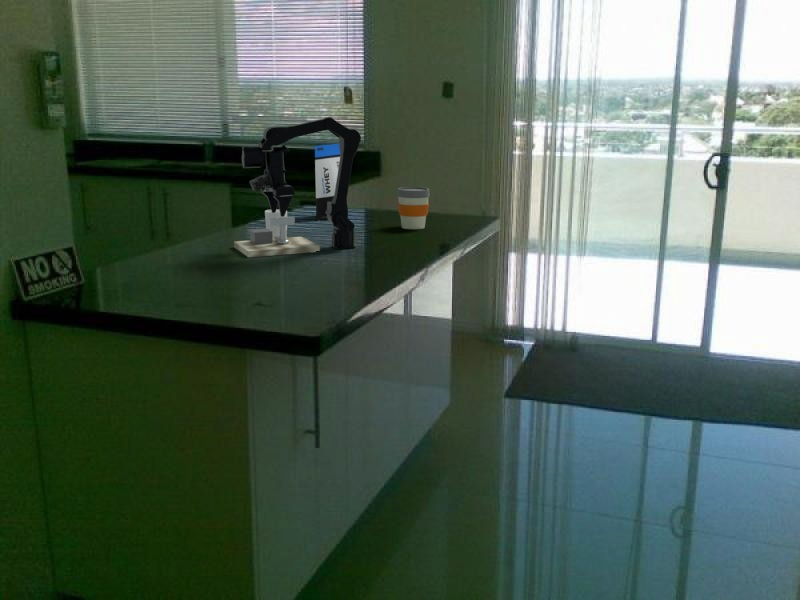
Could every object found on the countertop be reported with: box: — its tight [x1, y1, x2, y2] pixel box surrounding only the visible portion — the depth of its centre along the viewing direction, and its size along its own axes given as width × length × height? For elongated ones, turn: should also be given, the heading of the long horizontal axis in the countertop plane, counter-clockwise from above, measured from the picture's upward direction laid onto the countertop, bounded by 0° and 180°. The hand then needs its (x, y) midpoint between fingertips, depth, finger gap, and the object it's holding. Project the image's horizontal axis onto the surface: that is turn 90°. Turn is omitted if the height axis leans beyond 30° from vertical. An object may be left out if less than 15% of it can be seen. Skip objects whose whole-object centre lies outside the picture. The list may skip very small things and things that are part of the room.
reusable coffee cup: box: [397, 186, 431, 230], centre depth 309 cm, size 13×12×15 cm
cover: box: [249, 228, 273, 245], centre depth 266 cm, size 6×6×4 cm
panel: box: [233, 236, 321, 258], centre depth 265 cm, size 24×18×2 cm
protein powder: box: [314, 143, 340, 222], centre depth 330 cm, size 10×24×30 cm, turn 153°
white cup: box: [264, 208, 288, 239], centre depth 283 cm, size 8×8×10 cm
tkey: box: [270, 216, 296, 244], centre depth 266 cm, size 8×9×8 cm
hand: (278, 214), depth 261 cm, fingers open, 9 cm apart
